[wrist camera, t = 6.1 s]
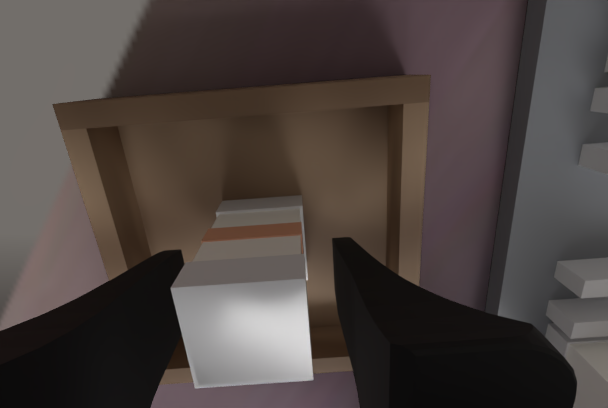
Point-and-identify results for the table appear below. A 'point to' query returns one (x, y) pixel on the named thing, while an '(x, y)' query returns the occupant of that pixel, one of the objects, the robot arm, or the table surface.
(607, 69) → the block
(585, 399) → the block
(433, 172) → the table surface
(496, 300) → the fuse holder
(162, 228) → the tray
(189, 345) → the block
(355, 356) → the robot arm
